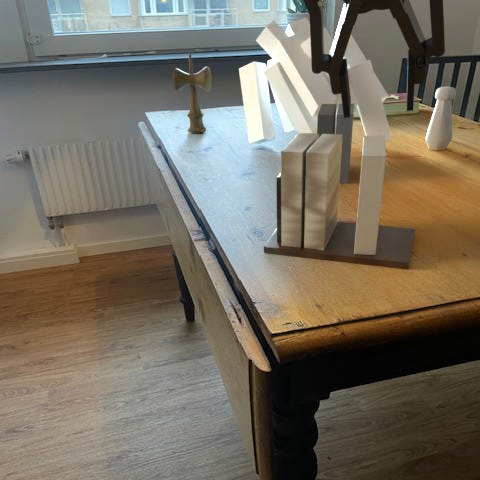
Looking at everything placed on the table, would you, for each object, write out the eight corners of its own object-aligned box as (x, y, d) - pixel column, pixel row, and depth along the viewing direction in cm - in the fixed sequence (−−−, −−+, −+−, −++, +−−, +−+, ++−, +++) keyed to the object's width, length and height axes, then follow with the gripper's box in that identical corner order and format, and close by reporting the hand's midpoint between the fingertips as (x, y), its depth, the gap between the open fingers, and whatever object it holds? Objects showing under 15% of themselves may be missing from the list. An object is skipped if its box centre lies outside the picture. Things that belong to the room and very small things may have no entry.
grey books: (349, 168, 108) (354, 103, 100) (348, 183, 100) (353, 114, 92) (319, 167, 109) (321, 103, 102) (315, 183, 101) (317, 114, 94)
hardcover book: (338, 111, 155) (339, 96, 152) (405, 106, 155) (406, 91, 153) (348, 119, 145) (349, 104, 142) (419, 114, 145) (421, 98, 143)
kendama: (211, 135, 138) (205, 53, 127) (177, 135, 140) (168, 54, 129) (216, 129, 143) (210, 50, 132) (183, 129, 144) (175, 51, 133)
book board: (414, 234, 79) (429, 135, 70) (407, 269, 69) (424, 160, 61) (285, 222, 85) (285, 130, 77) (263, 252, 76) (260, 152, 68)
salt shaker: (453, 146, 117) (464, 85, 110) (446, 152, 113) (457, 90, 106) (427, 143, 120) (436, 84, 113) (420, 149, 116) (429, 89, 109)
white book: (375, 227, 79) (385, 135, 71) (375, 255, 71) (386, 155, 63) (356, 226, 80) (363, 135, 72) (353, 254, 72) (362, 155, 64)
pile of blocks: (387, 148, 137) (353, 16, 132) (410, 129, 108) (368, -42, 103) (266, 189, 143) (229, 64, 138) (256, 181, 114) (209, 22, 109)
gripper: (252, -43, 44) (297, 137, 64) (502, -97, 38) (465, 120, 59) (261, -98, 47) (302, 92, 67) (497, -156, 41) (462, 72, 61)
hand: (378, 105), depth 63 cm, fingers open, 7 cm apart
